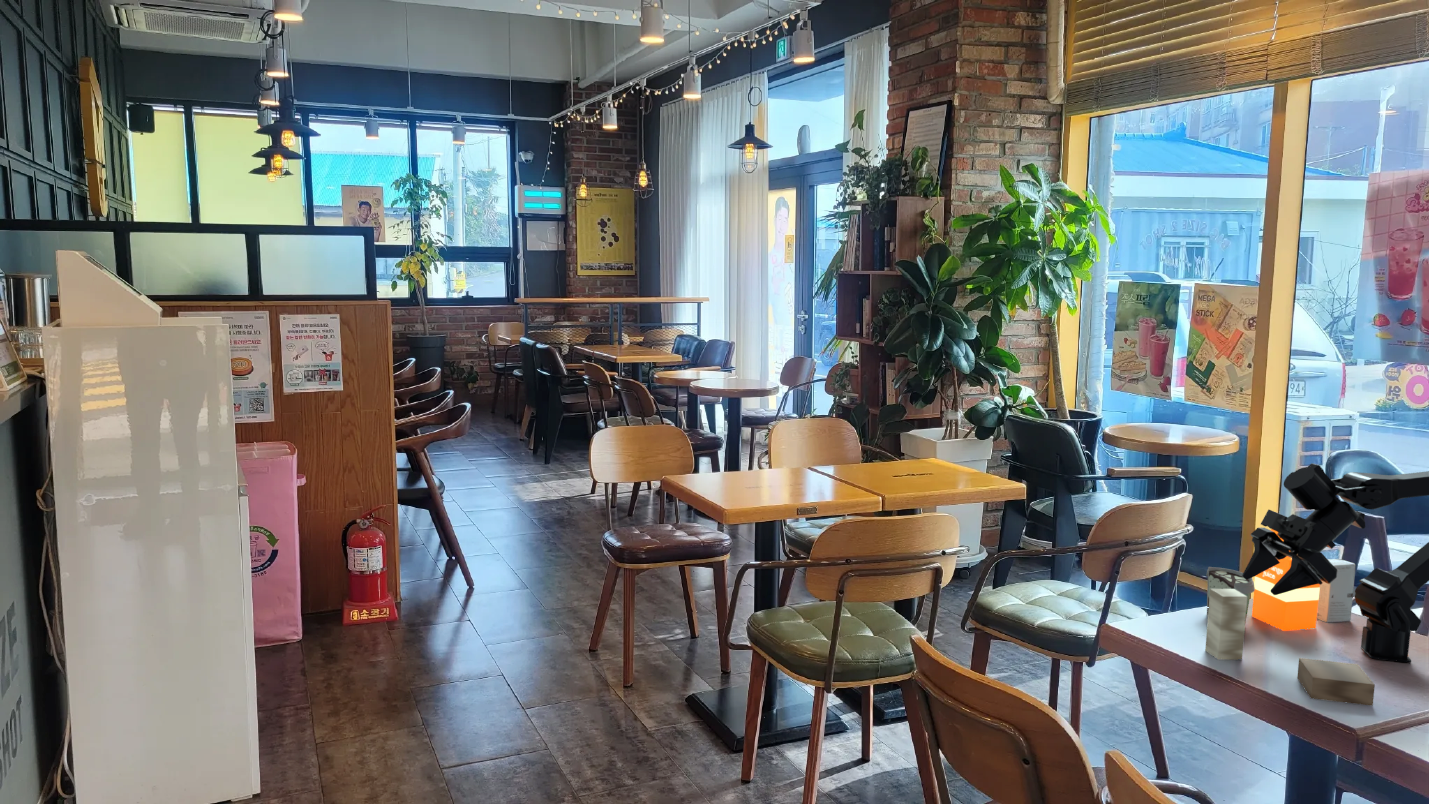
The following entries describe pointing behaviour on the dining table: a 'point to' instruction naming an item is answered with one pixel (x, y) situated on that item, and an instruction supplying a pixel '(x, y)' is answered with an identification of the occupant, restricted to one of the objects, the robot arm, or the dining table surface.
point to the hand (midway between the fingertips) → (1257, 585)
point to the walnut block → (1335, 681)
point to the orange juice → (1284, 600)
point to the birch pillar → (1226, 624)
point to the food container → (1228, 582)
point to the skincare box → (1337, 594)
